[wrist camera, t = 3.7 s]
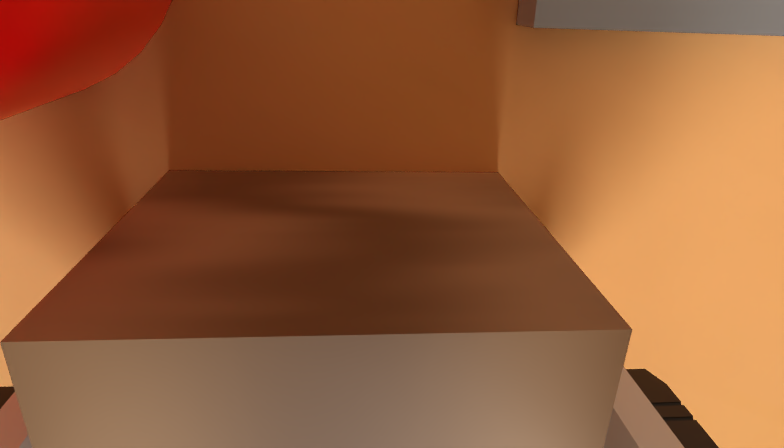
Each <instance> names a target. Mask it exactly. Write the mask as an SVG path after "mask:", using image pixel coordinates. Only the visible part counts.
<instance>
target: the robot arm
mask: <svg viewBox="0 0 784 448" xmlns="http://www.w3.org/2000/svg"><path fill="white" fill-rule="evenodd" d="M0 448H32V446H31V442H30V439H29V436H28V432H27V429H26V426H25V423H24V419H23V416H22V413H21V409H20V406H19V403H18V399H17V396H16V393H15V390H14V387H0ZM603 448H719V447H718V446H717V445H716V444H715V443H714V441H713V440H712V439H711V438H710V436H709V435H708V434H707V433H706V432H705V430H704V429H703V428H702V427H701V426H700V424H699V423H698V422H697V421H696V420H693V416H692V415H691V413H690V412H689V411H688V410H687V409H686V407H685V406H684V405H681V401H680V400H679V399H678V398H677V396H676V395H675V394H674V393H673V392H672V390H671V389H670V388H669V387H668V386H667V384H665V383H664V382H663V381H661V380H660V379H658V378H657V377H656V376H654V375H653V374H651V373H650V372H648V371H647V370H646V369H625V368H624V366H623V369H622V373H621V377H620V381H619V385H618V389H617V394H616V398H615V402H614V406H613V410H612V414H611V418H610V422H609V426H608V430H607V434H606V438H605V443H604V447H603Z"/></svg>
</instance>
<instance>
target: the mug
mask: <svg viewBox="0 0 784 448" xmlns="http://www.w3.org/2000/svg"><path fill="white" fill-rule="evenodd" d="M171 1H172V0H0V120H3V119H5V118H8V117H11V116H13V115H16V114H19V113H22V112H24V111H27V110H30V109H32V108H35V107H38V106H41V105H43V104H46V103H49V102H51V101H54V100H57V99H59V98H62V97H65V96H68V95H70V94H73V93H76V92H78V91H81V90H84V89H86V88H88V87H90V86H92V85H94V84H96V83H98V82H100V81H102V80H104V79H106V78H108V77H110V76H112V75H114V74H116V73H117V72H118V71H119V70H120V69H121V68H123V67H124V66H125V65H126V64H127V63H129V62H130V61H131V60H132V59H133V58H134V57H136V56H137V55H138V54H139V53H140V52H141V51H142V50H143V48H144V47H145V46H146V44H147V43H148V42H149V40H150V39H151V38H152V36H153V35H154V34H155V32H156V31H157V30H158V28H159V27H160V26H161V24H162V22H163V19H164V17H165V15H166V13H167V10H168V8H169V6H170V3H171Z"/></svg>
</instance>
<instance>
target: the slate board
mask: <svg viewBox="0 0 784 448" xmlns="http://www.w3.org/2000/svg"><path fill="white" fill-rule="evenodd" d="M516 25H522V26H527V27H533V28H559V29H589V30H619V31H649V32H679V33H710V34H740V35H770V36H784V0H519V6H518V14H517V23H516Z"/></svg>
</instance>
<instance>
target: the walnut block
mask: <svg viewBox="0 0 784 448" xmlns="http://www.w3.org/2000/svg"><path fill="white" fill-rule="evenodd" d="M631 332H632V329H631V327H630V326H629V325H628V324H627V323H626V322H625V320H624V319H623V318H622V317H621V316H620V315H619V313H618V312H617V311H616V310H615V309H614V308H613V306H612V305H611V304H610V303H609V302H608V301H607V299H606V298H605V297H604V296H603V295H602V294H601V292H600V291H599V290H598V289H597V288H596V286H595V285H594V284H593V283H592V282H591V281H590V279H589V278H588V277H587V276H586V275H585V274H584V272H583V271H582V270H581V269H580V268H579V267H578V265H577V264H576V263H575V262H574V261H573V260H572V258H571V257H570V256H569V255H568V254H567V253H566V251H565V250H564V249H563V248H562V247H561V245H560V244H559V243H558V242H557V241H556V240H555V238H554V237H553V236H552V235H551V234H550V233H549V231H548V230H547V229H546V228H545V227H544V226H543V224H542V223H541V222H540V221H539V220H538V219H537V217H536V216H535V215H534V214H533V213H532V212H531V210H530V209H529V208H528V207H527V206H526V205H525V203H524V202H523V201H522V200H521V199H520V197H519V196H518V195H517V194H516V193H515V192H514V190H513V189H512V188H511V187H510V186H509V185H508V183H507V182H506V181H505V180H504V179H503V178H502V176H501V175H500V174H499V173H498V172H366V171H194V170H169V171H168V172H167V173H166V174H165V175H164V176H163V177H162V178H161V179H160V180H159V181H158V182H157V183H156V184H155V185H154V186H153V187H152V188H151V189H150V190H149V191H148V192H147V193H146V195H145V196H144V197H143V198H142V199H141V200H140V201H139V202H138V203H137V204H136V205H135V206H134V207H133V208H132V209H131V210H130V211H129V212H128V213H127V214H126V215H125V216H124V217H123V218H122V219H121V220H120V221H119V222H118V223H117V224H116V225H115V226H114V227H113V228H112V229H111V230H110V231H109V232H108V233H107V234H106V235H105V236H104V237H103V238H102V239H101V240H100V241H99V242H98V243H97V244H96V245H95V246H94V247H93V248H92V249H91V250H90V251H89V252H88V253H87V254H86V256H85V257H84V258H83V259H82V260H81V261H80V262H79V263H78V264H77V265H76V266H75V267H74V268H73V269H72V270H71V271H70V272H69V273H68V274H67V275H66V276H65V277H64V278H63V279H62V280H61V281H60V282H59V283H58V284H57V285H56V286H55V287H54V288H53V289H52V290H51V291H50V292H49V293H48V294H47V295H46V296H45V297H44V298H43V299H42V300H41V301H40V302H39V303H38V304H37V305H36V306H35V307H34V308H33V309H32V310H31V311H30V312H29V313H28V314H27V315H26V317H25V318H24V319H23V320H22V321H21V322H20V323H19V324H18V325H17V326H16V327H15V328H14V329H13V330H12V331H11V332H10V333H9V334H8V335H7V336H6V337H5V338H4V339H3V340H2V341H1V342H0V343H1V347H2V350H3V353H4V357H5V360H6V363H7V366H8V370H9V373H10V376H11V380H12V383H13V386H14V390H15V393H16V396H17V399H18V403H19V406H20V409H21V413H22V416H23V419H24V423H25V426H26V429H27V432H28V436H29V439H30V442H31V446H32V448H603V447H604V443H605V438H606V434H607V430H608V426H609V422H610V418H611V414H612V410H613V406H614V402H615V398H616V394H617V389H618V385H619V381H620V377H621V373H622V369H623V365H624V361H625V357H626V353H627V349H628V344H629V340H630V336H631Z"/></svg>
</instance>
